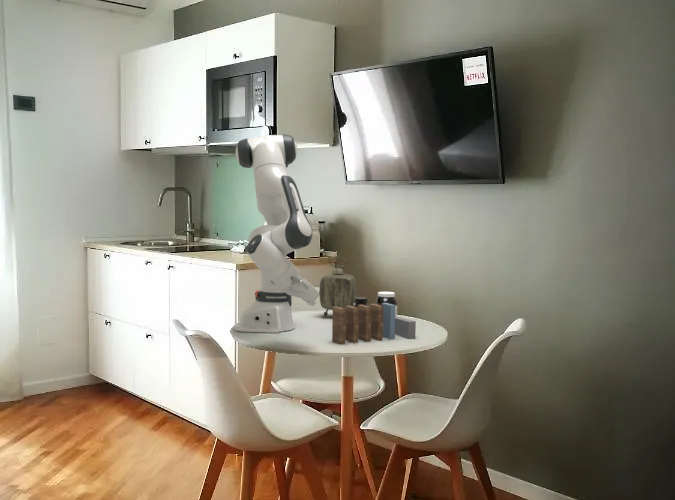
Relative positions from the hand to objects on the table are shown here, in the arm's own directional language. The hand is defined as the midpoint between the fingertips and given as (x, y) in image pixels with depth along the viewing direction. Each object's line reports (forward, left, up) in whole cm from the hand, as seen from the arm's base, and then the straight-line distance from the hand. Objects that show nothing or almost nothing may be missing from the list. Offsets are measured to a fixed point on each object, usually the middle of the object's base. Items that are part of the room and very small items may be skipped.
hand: (313, 303), depth 225 cm
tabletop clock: (+12, +54, -14) cm, 57 cm away
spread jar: (+29, +46, -14) cm, 56 cm away
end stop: (+34, +16, -14) cm, 40 cm away
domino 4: (+23, +11, -14) cm, 29 cm away
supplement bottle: (+19, +28, -14) cm, 36 cm away
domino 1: (+9, +5, -14) cm, 17 cm away
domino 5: (+27, +13, -14) cm, 33 cm away
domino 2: (+14, +7, -14) cm, 21 cm away
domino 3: (+18, +9, -14) cm, 25 cm away
